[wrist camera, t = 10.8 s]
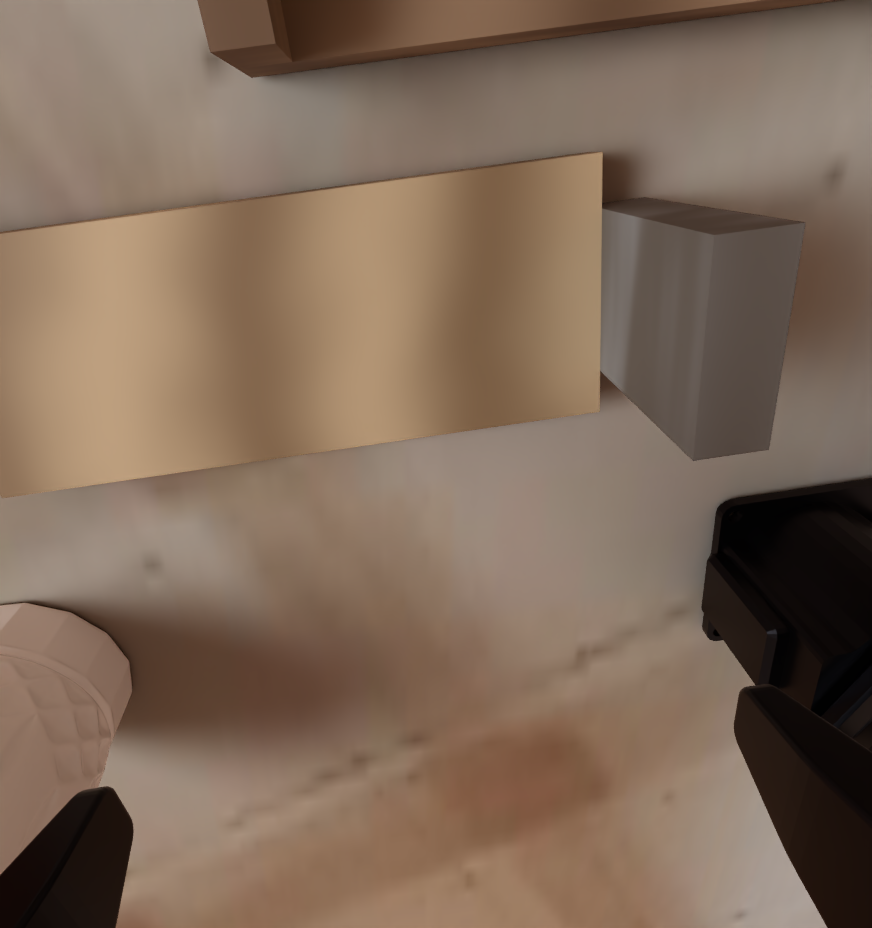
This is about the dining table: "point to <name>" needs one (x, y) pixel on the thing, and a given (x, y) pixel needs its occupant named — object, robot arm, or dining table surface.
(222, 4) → the wooden tray
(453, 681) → the dining table surface
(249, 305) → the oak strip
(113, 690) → the white cup
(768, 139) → the dining table surface
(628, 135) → the dining table surface
